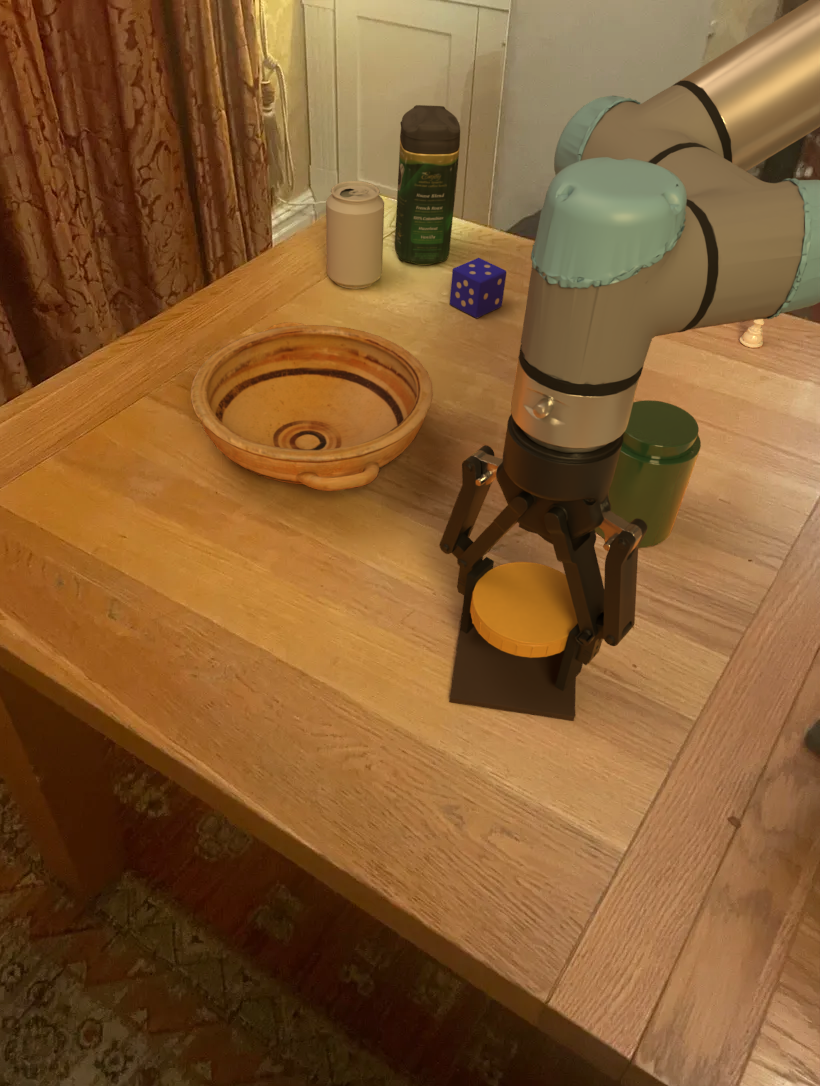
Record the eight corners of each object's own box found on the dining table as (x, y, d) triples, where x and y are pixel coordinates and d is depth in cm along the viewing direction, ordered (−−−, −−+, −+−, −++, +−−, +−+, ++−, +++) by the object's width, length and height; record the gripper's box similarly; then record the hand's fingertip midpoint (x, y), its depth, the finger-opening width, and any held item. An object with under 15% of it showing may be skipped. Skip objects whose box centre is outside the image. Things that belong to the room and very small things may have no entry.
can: (336, 262, 127) (336, 174, 118) (388, 270, 126) (391, 181, 117) (319, 286, 122) (317, 196, 113) (372, 295, 121) (375, 204, 112)
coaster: (575, 630, 79) (577, 625, 79) (573, 721, 72) (575, 716, 72) (461, 614, 80) (462, 609, 80) (449, 702, 73) (449, 697, 73)
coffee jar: (452, 268, 127) (465, 125, 113) (396, 267, 126) (402, 124, 113) (446, 237, 133) (458, 99, 120) (393, 237, 133) (398, 98, 120)
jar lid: (447, 619, 72) (449, 605, 70) (510, 560, 76) (513, 546, 75) (543, 677, 68) (547, 662, 66) (603, 611, 72) (608, 596, 71)
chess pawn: (734, 339, 115) (747, 302, 111) (751, 335, 116) (764, 298, 112) (749, 350, 113) (763, 313, 109) (767, 345, 114) (781, 308, 110)
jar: (669, 498, 92) (702, 402, 84) (674, 553, 86) (709, 455, 78) (586, 487, 93) (610, 391, 85) (585, 541, 87) (611, 444, 79)
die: (474, 292, 122) (478, 256, 118) (502, 306, 119) (507, 270, 116) (448, 304, 119) (452, 268, 116) (476, 319, 117) (480, 282, 113)
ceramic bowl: (183, 388, 104) (173, 324, 98) (386, 363, 109) (388, 301, 103) (221, 560, 84) (212, 493, 79) (467, 520, 89) (476, 454, 83)
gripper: (401, 384, 61) (389, 612, 78) (693, 522, 52) (610, 749, 68) (466, 341, 65) (442, 567, 82) (747, 462, 56) (657, 689, 72)
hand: (518, 649), depth 75 cm, fingers closed on jar lid, 9 cm apart
